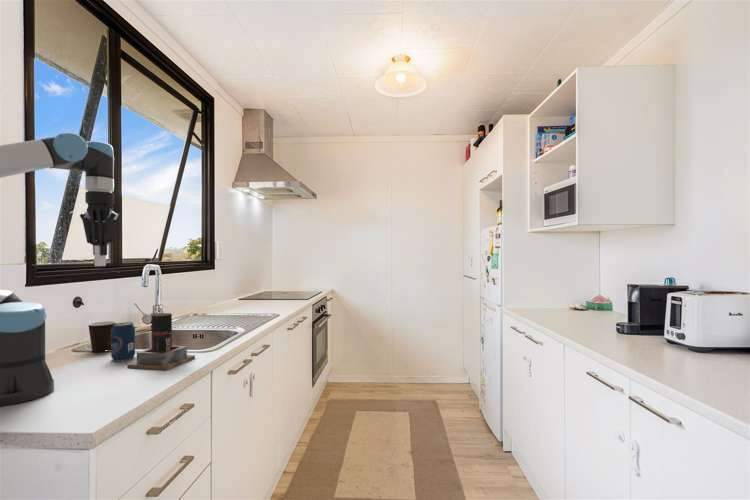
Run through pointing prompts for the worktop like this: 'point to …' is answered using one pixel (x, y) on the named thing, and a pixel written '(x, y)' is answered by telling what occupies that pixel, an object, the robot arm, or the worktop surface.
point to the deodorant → (161, 332)
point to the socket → (161, 359)
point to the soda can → (122, 341)
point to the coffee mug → (101, 335)
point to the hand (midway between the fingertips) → (100, 265)
